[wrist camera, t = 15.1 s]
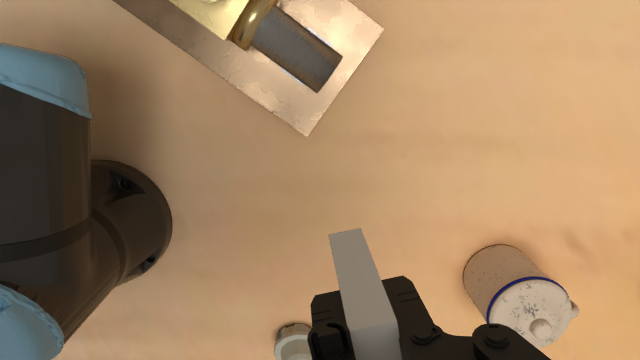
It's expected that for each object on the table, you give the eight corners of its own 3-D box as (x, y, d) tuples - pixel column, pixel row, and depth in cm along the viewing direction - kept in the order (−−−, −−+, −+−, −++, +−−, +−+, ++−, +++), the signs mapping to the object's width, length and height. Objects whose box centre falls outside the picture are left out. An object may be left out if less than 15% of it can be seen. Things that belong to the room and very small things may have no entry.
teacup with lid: (451, 298, 53) (487, 362, 42) (472, 236, 50) (516, 286, 39) (537, 313, 54) (595, 379, 42) (562, 252, 51) (631, 307, 40)
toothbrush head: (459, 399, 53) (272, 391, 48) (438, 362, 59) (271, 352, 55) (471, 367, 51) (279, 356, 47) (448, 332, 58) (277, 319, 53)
